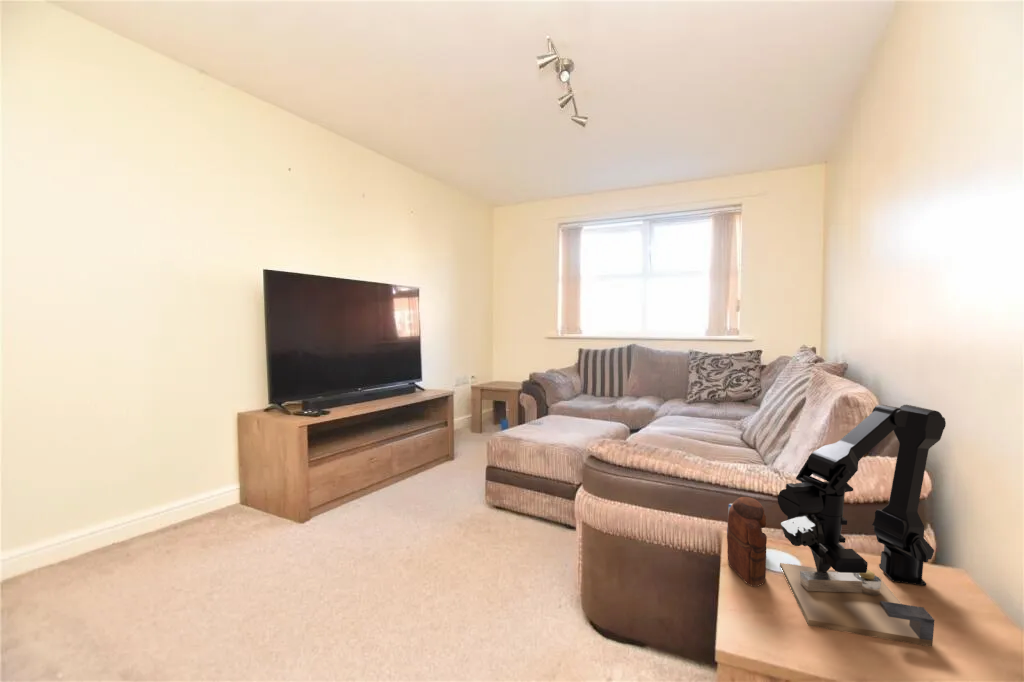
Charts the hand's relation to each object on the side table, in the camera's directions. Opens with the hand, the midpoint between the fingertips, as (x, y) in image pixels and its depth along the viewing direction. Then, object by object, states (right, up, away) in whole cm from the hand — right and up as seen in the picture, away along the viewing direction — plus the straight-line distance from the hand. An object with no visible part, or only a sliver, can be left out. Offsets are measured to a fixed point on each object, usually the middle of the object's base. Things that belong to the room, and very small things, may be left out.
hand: (820, 575), depth 101 cm
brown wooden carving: (-13, -2, +6) cm, 15 cm away
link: (+3, -1, -2) cm, 4 cm away
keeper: (+6, -4, -14) cm, 16 cm away
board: (+2, -3, -5) cm, 6 cm away
